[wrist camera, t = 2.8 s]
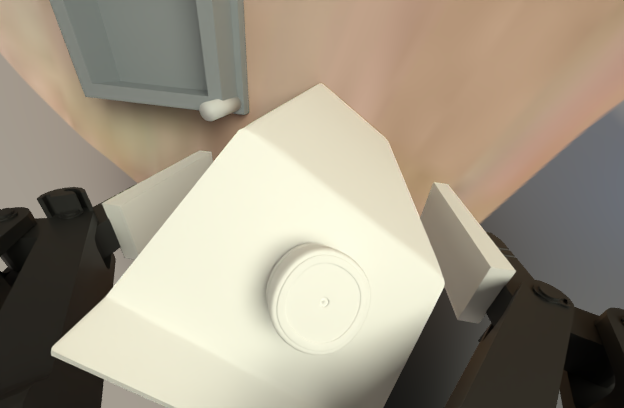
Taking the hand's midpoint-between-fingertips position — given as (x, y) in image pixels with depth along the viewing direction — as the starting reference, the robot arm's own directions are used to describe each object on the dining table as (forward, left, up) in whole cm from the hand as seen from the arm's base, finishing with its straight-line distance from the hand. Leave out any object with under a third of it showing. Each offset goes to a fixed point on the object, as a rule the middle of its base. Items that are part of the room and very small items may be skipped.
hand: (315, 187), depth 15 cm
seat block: (-8, -13, -8) cm, 17 cm away
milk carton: (0, 0, -8) cm, 8 cm away
